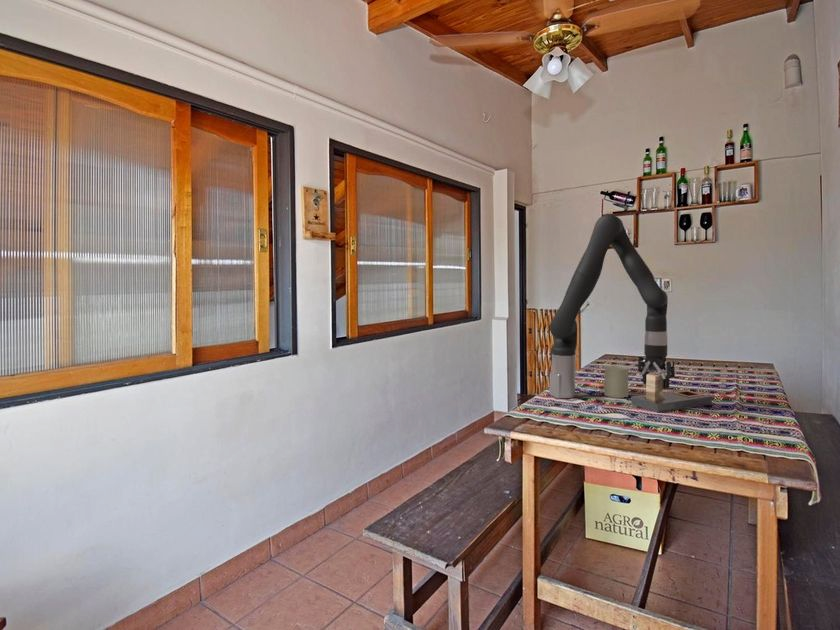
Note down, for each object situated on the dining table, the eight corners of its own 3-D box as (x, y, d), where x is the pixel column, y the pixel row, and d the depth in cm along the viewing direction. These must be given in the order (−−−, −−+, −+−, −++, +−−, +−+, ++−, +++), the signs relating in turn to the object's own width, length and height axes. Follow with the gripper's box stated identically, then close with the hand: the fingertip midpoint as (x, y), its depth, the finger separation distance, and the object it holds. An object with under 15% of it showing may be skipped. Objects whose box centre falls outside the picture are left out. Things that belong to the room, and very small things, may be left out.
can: (623, 392, 193) (624, 364, 192) (631, 398, 184) (632, 368, 183) (601, 392, 194) (601, 364, 193) (607, 397, 185) (608, 368, 184)
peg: (654, 408, 168) (655, 376, 168) (645, 406, 172) (646, 374, 171) (662, 407, 170) (663, 375, 169) (653, 404, 174) (654, 373, 173)
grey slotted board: (657, 412, 164) (657, 403, 163) (631, 404, 175) (631, 396, 175) (711, 404, 173) (712, 395, 173) (683, 396, 184) (683, 388, 184)
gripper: (632, 341, 174) (632, 384, 176) (664, 346, 161) (664, 391, 162) (647, 340, 177) (647, 381, 178) (680, 344, 164) (680, 389, 165)
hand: (655, 386), depth 170 cm, fingers open, 8 cm apart
